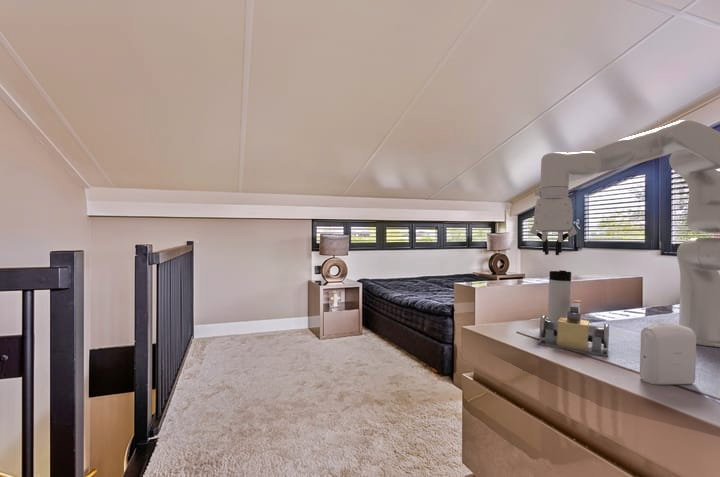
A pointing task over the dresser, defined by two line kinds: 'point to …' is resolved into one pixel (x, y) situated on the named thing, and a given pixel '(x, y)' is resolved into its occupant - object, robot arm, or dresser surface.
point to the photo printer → (668, 354)
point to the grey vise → (574, 336)
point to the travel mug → (559, 294)
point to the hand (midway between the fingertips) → (552, 254)
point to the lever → (574, 311)
